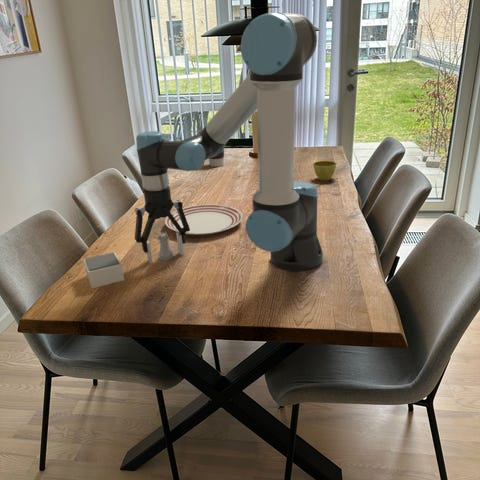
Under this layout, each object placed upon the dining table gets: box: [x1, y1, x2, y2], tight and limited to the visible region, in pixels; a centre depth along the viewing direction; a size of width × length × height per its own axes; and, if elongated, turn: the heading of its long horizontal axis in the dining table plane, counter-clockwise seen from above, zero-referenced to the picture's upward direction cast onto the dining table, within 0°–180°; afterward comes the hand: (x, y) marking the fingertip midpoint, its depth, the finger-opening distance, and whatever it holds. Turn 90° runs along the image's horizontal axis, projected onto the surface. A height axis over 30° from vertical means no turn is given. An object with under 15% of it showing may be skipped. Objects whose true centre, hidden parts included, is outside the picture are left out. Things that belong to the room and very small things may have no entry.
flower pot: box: [313, 160, 337, 182], centre depth 205 cm, size 10×10×7 cm
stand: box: [83, 252, 125, 289], centre depth 131 cm, size 9×9×5 cm
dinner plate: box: [164, 203, 244, 236], centre depth 164 cm, size 28×27×3 cm
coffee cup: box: [208, 149, 225, 168], centre depth 237 cm, size 10×10×15 cm
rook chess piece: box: [157, 232, 174, 262], centre depth 140 cm, size 4×4×8 cm
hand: (165, 257), depth 141 cm, fingers open, 9 cm apart
